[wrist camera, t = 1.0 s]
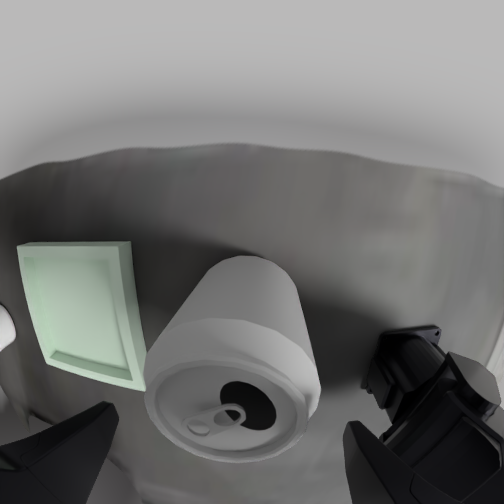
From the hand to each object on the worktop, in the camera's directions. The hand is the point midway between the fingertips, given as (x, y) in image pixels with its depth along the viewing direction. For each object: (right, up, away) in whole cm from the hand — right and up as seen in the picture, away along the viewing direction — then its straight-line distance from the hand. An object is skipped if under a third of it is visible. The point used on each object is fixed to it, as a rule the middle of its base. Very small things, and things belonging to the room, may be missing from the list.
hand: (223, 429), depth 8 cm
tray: (-15, +1, +13) cm, 20 cm away
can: (+1, +3, +12) cm, 12 cm away
